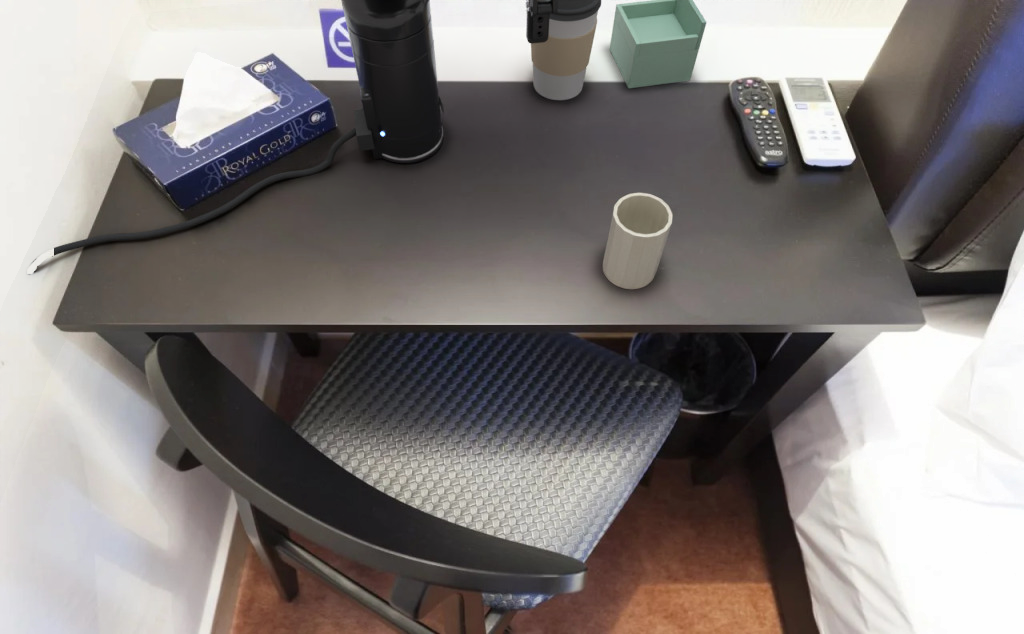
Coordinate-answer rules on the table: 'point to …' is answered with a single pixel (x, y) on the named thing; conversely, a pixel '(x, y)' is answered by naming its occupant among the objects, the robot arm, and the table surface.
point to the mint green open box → (656, 41)
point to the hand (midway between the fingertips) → (529, 17)
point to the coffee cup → (565, 50)
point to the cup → (636, 240)
